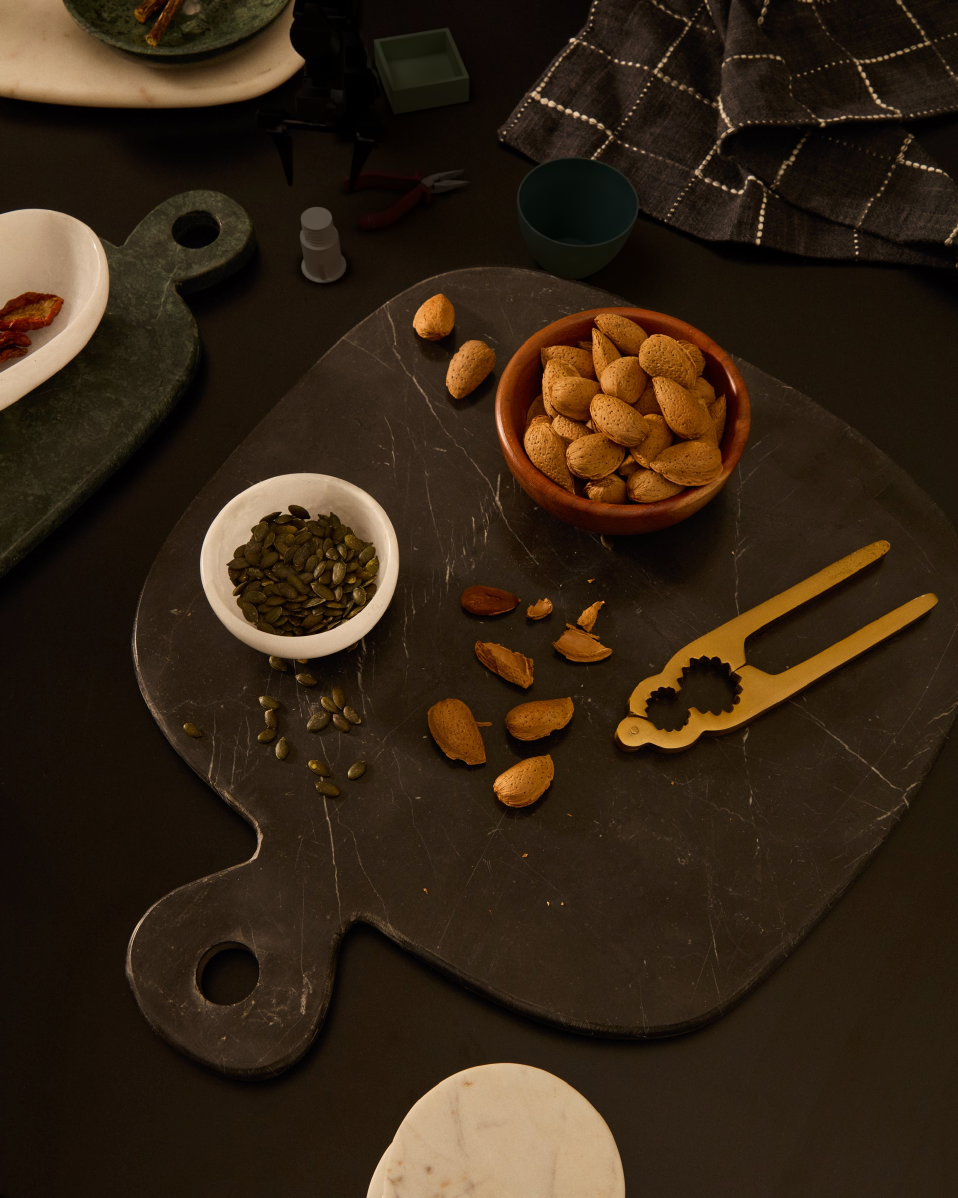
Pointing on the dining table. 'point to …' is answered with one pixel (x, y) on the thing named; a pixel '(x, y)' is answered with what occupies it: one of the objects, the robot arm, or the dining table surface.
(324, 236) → the downlight
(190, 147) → the dining table surface
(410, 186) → the pliers
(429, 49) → the bin
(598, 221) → the dark teal bowl
